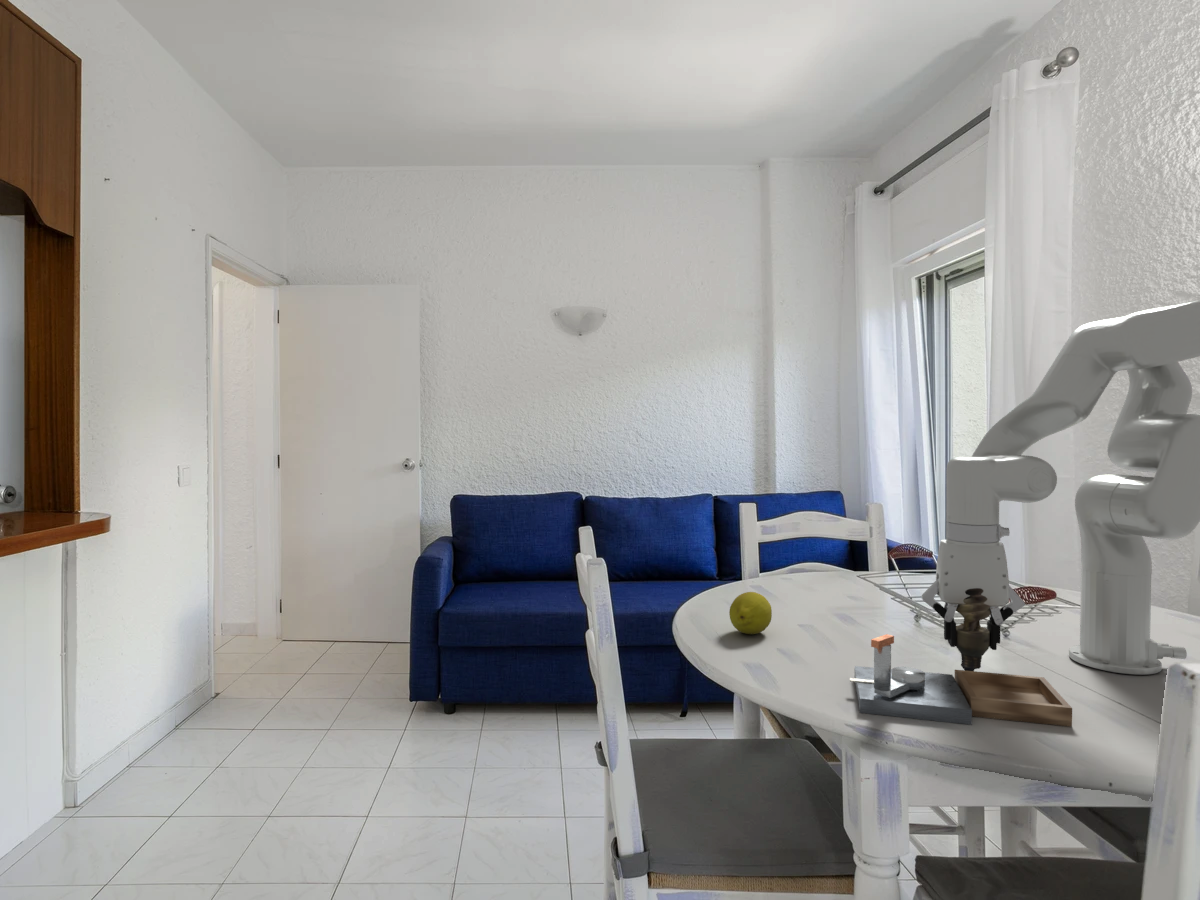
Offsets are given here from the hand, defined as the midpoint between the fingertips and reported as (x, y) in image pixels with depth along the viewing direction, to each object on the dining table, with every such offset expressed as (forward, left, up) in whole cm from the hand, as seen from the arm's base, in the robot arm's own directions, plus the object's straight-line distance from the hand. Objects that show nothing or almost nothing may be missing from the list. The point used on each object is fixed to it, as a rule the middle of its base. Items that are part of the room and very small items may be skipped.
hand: (971, 644), depth 114 cm
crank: (+13, +18, -2) cm, 22 cm away
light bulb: (0, 0, -5) cm, 5 cm away
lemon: (+36, -12, -5) cm, 38 cm away
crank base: (+11, +15, -5) cm, 19 cm away
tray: (-2, +13, -5) cm, 14 cm away
